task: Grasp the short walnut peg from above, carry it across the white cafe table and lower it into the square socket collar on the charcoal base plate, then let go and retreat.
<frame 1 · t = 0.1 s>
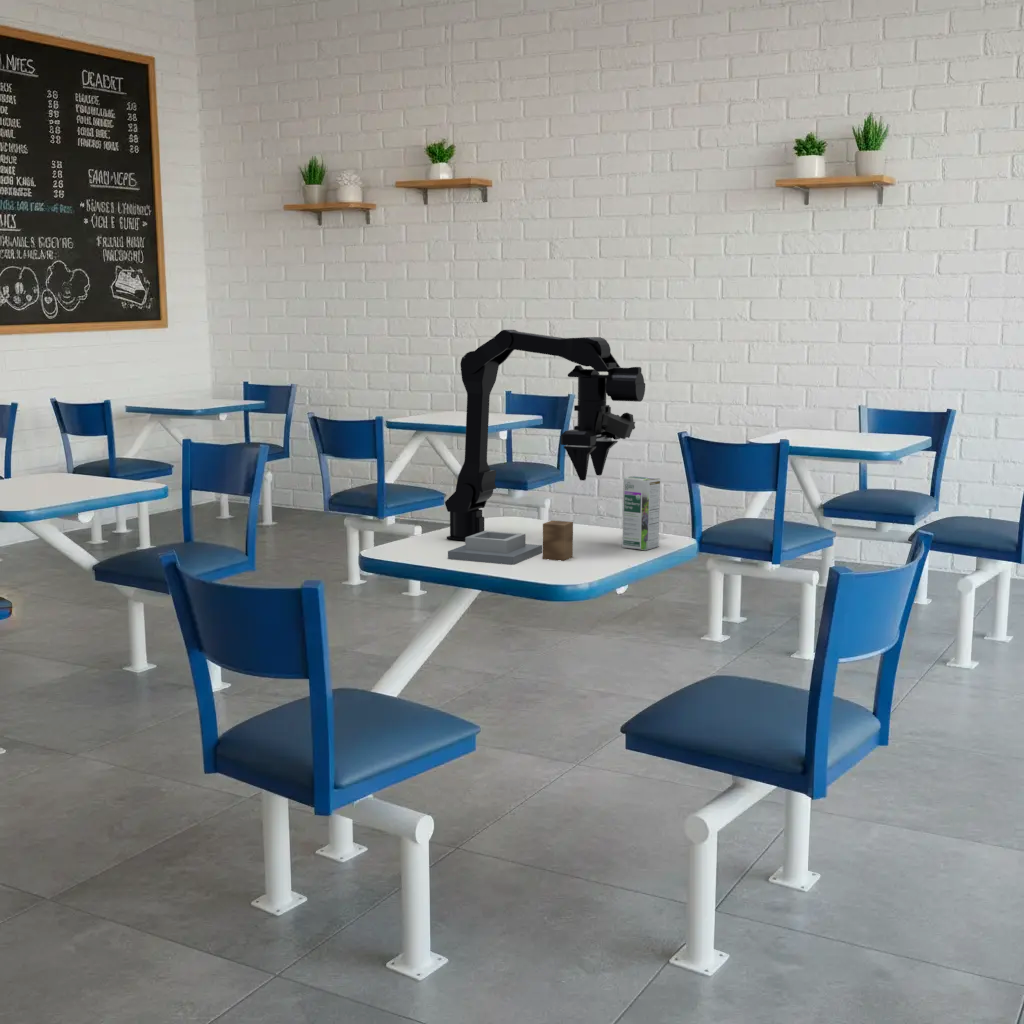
hand: (590, 477, 246), 15 cm above the table, fingers open, 9 cm apart
walnut peg: (557, 558, 239), on the table
socket block: (495, 555, 241), on the table
syrup box: (640, 548, 250), on the table
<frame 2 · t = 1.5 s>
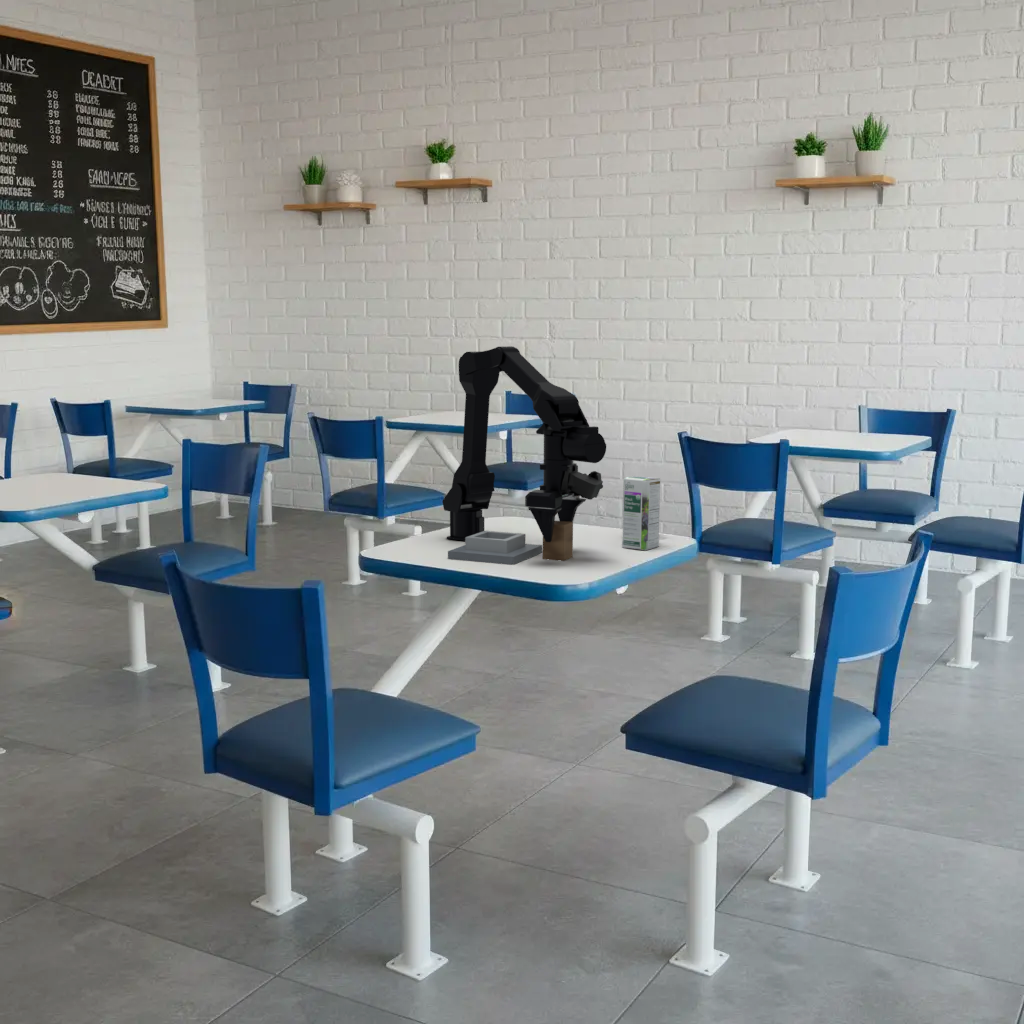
hand: (557, 538, 238), 4 cm above the table, fingers open, 9 cm apart
nothing on the table moved.
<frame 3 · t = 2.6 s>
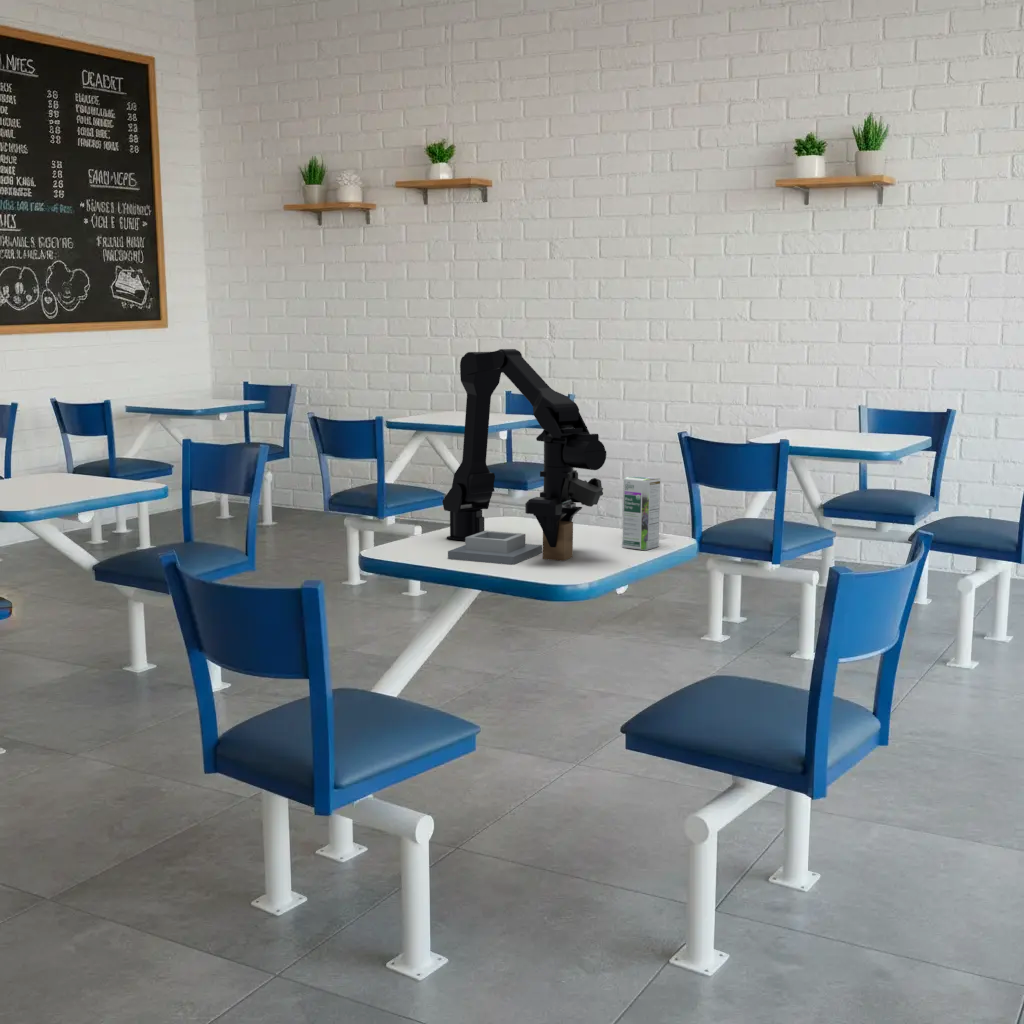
hand: (557, 545, 238), 3 cm above the table, fingers closed on walnut peg, 4 cm apart
walnut peg: (557, 557, 238), on the table, touching gripper
everything else where it was.
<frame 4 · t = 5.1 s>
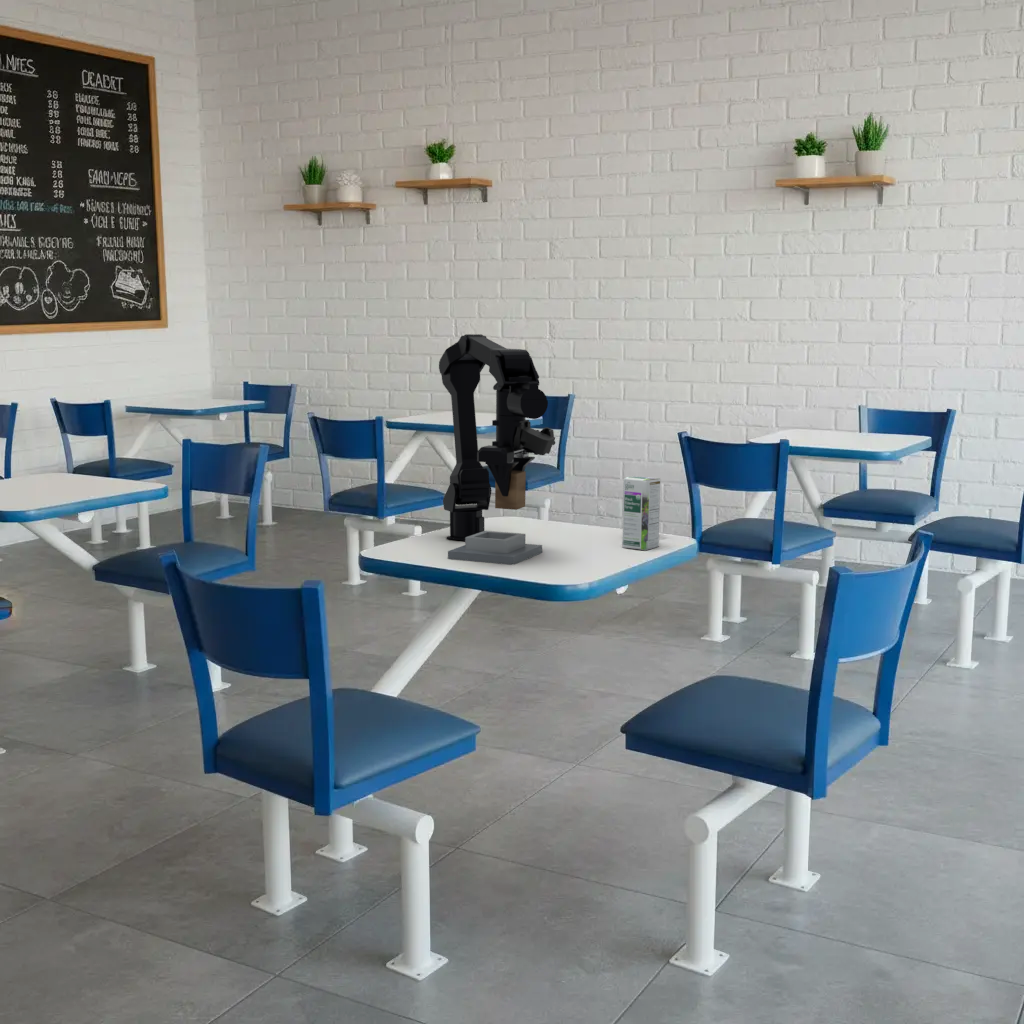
hand: (510, 494, 239), 12 cm above the table, fingers closed on walnut peg, 4 cm apart
walnut peg: (510, 507, 239), point 10 cm above the table, touching gripper
everything else where it was.
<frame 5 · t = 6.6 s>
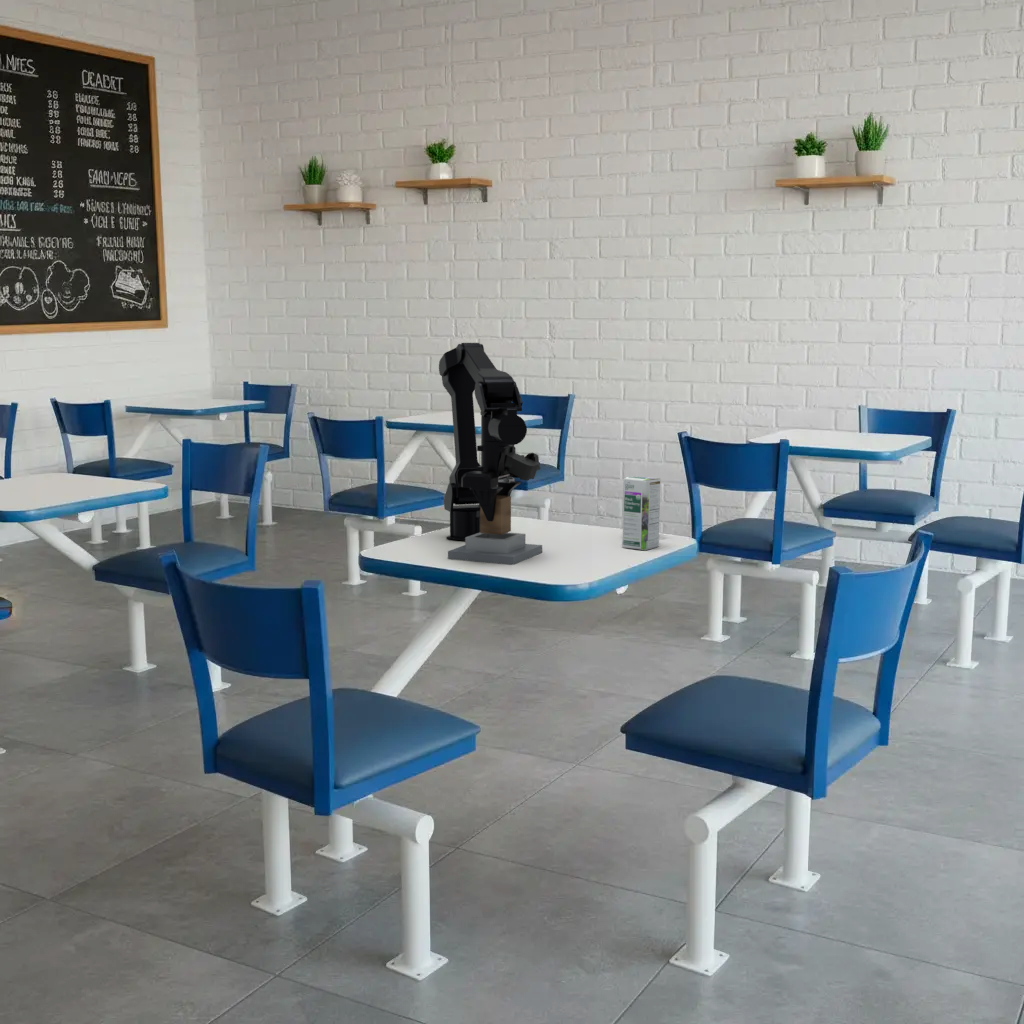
hand: (495, 519, 240), 7 cm above the table, fingers closed on walnut peg, 4 cm apart
walnut peg: (495, 532, 240), point 5 cm above the table, touching gripper
everything else where it was.
when the fingers open (5 cm above the table, at t = 7.5 s): walnut peg stays where it is, resting on socket block.
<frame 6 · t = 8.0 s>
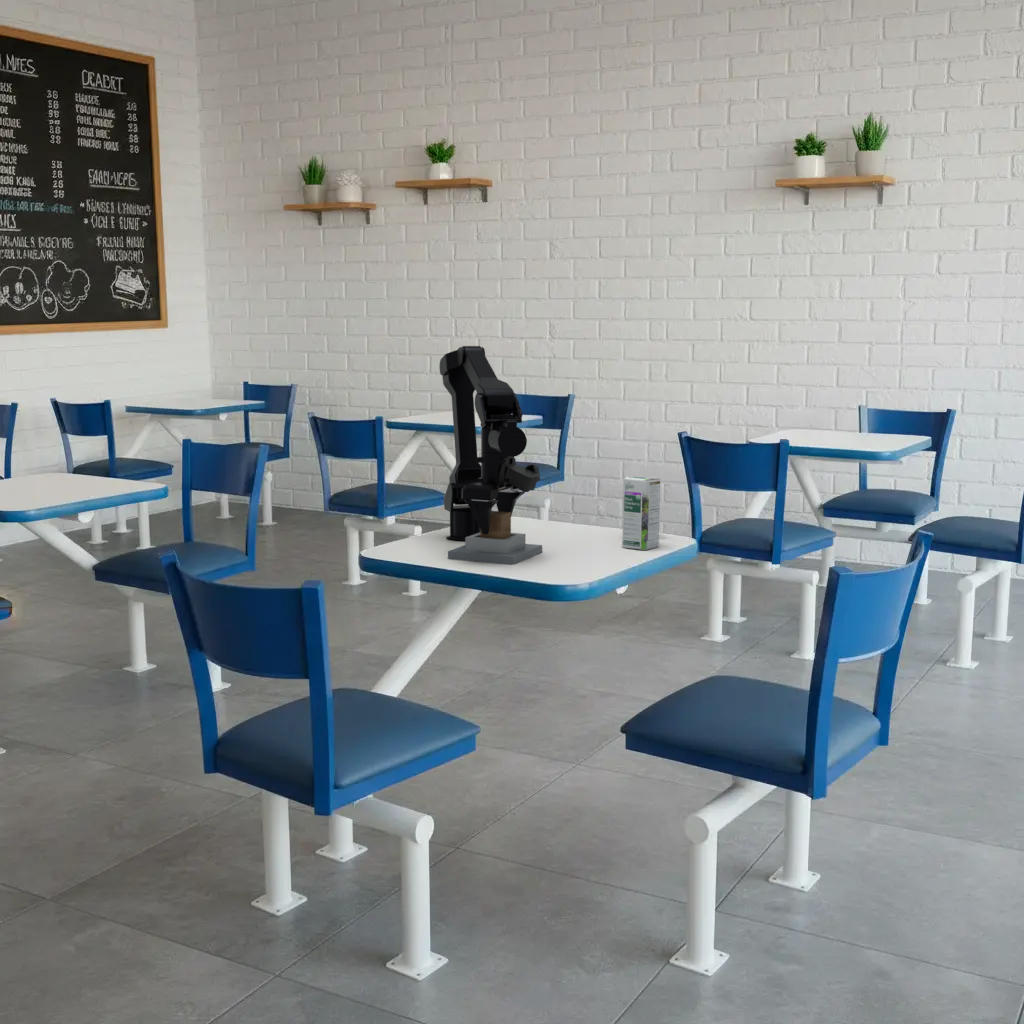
hand: (495, 530, 240), 5 cm above the table, fingers open, 9 cm apart
walnut peg: (495, 548, 240), point 1 cm above the table, touching socket block
everything else where it was.
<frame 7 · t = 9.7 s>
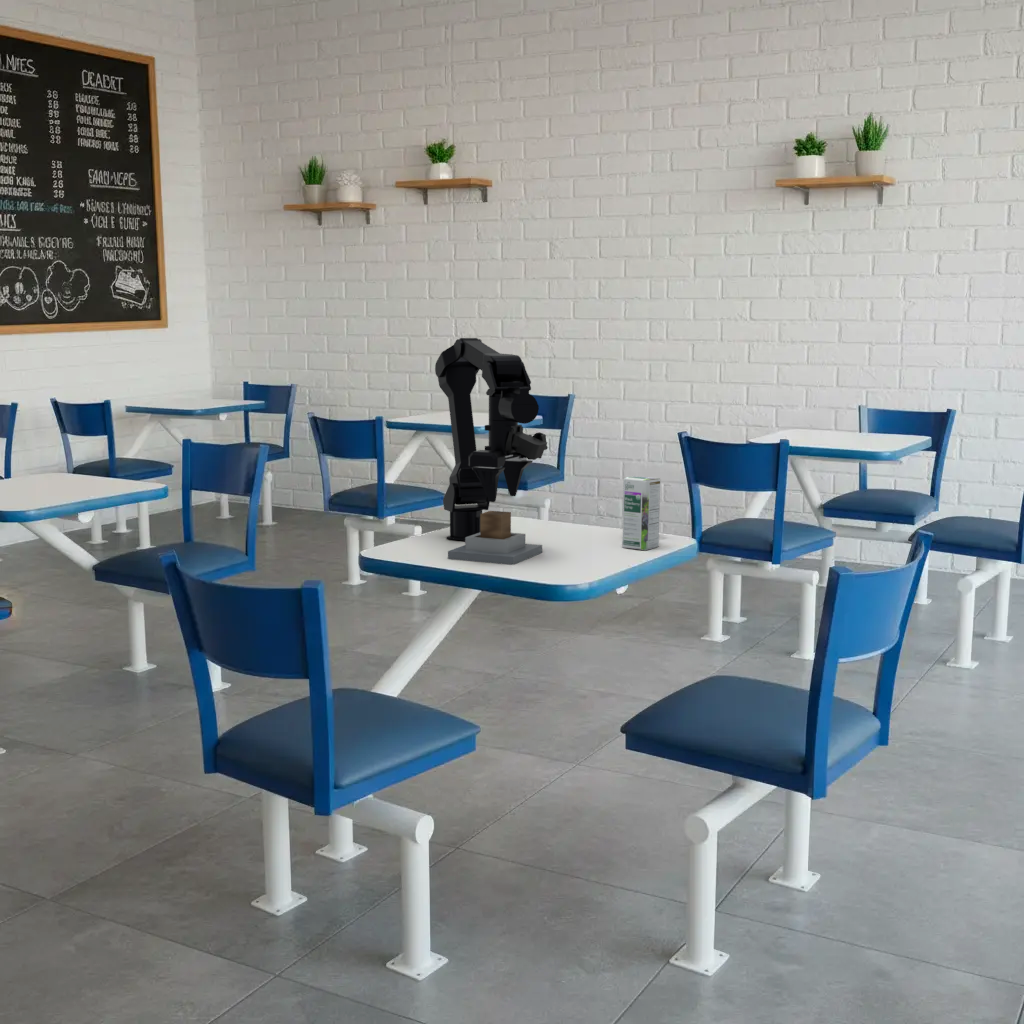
hand: (502, 498, 241), 11 cm above the table, fingers open, 9 cm apart
nothing on the table moved.
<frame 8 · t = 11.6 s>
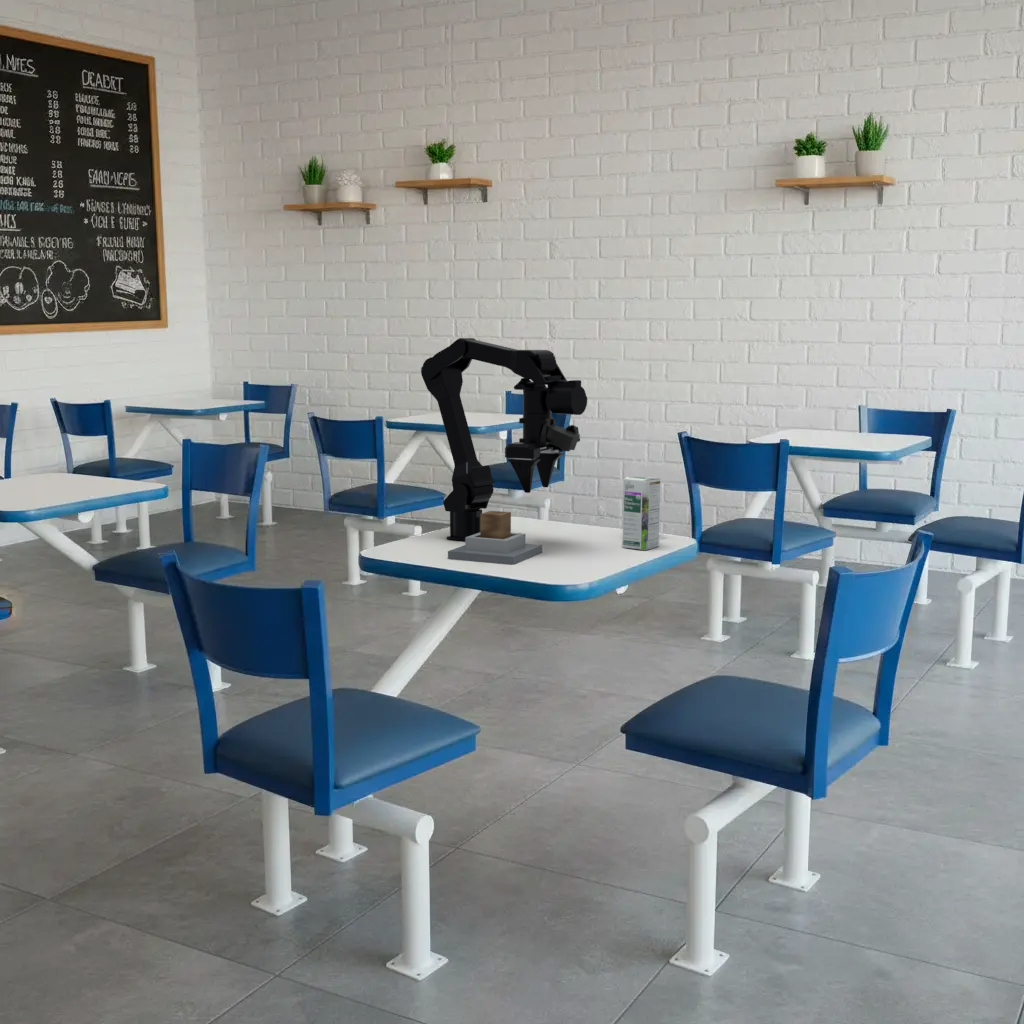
hand: (536, 489, 247), 12 cm above the table, fingers open, 9 cm apart
nothing on the table moved.
at the end: walnut peg 0.0 cm off-centre on the socket block, point 1.5 cm above the socket block's base; walnut peg tilted 0°; the gripper is holding nothing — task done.
